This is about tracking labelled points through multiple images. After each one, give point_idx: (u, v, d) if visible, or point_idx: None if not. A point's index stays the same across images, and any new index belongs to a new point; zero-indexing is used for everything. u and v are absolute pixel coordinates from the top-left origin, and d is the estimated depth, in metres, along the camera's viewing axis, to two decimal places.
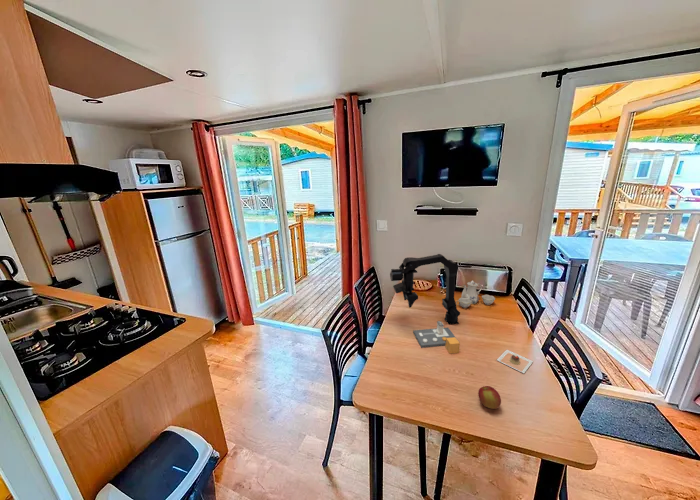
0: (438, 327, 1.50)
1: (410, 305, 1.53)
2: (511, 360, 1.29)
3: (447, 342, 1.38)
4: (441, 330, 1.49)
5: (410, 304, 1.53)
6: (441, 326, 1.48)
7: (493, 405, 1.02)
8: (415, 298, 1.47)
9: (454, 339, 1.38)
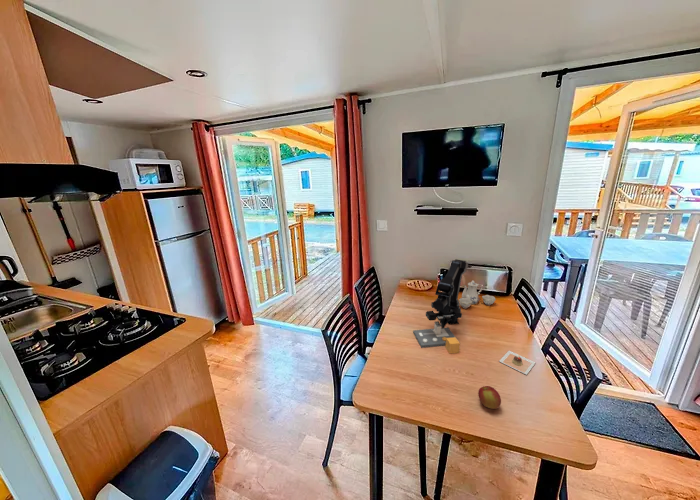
0: (435, 327, 1.50)
1: (441, 325, 1.50)
2: (513, 361, 1.28)
3: (447, 342, 1.38)
4: (438, 330, 1.49)
5: (441, 324, 1.50)
6: (438, 326, 1.48)
7: (493, 405, 1.02)
8: (428, 317, 1.46)
9: (454, 339, 1.38)
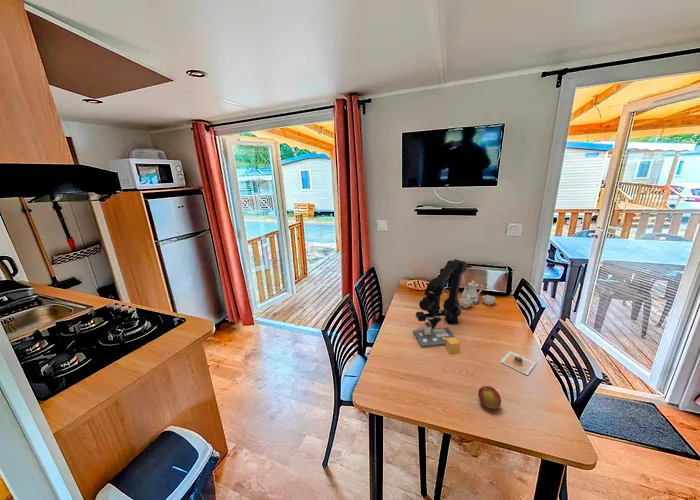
0: (426, 328, 1.50)
1: (431, 326, 1.50)
2: (514, 362, 1.28)
3: (447, 342, 1.38)
4: (428, 331, 1.48)
5: (431, 324, 1.50)
6: (428, 327, 1.48)
7: (493, 405, 1.02)
8: (418, 318, 1.46)
9: (454, 339, 1.38)
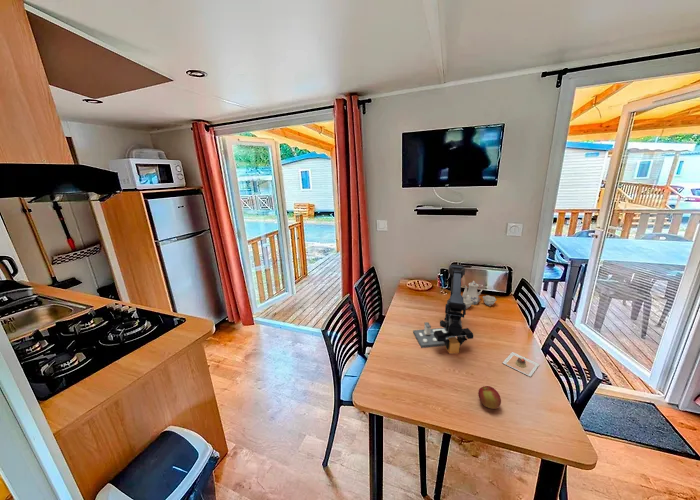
0: (425, 328, 1.50)
1: (446, 346, 1.38)
2: (517, 363, 1.27)
3: None
4: (428, 331, 1.48)
5: None
6: (428, 327, 1.48)
7: (493, 405, 1.02)
8: (436, 338, 1.35)
9: (454, 339, 1.38)
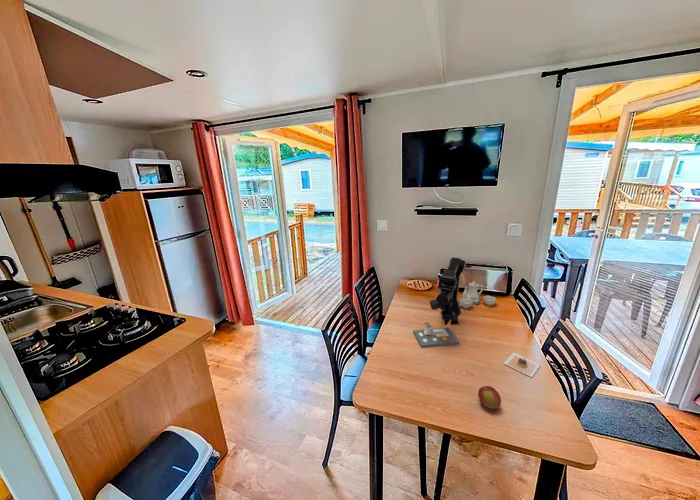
0: (425, 328, 1.50)
1: (446, 322, 1.42)
2: (518, 363, 1.27)
3: None
4: (428, 331, 1.48)
5: (446, 321, 1.42)
6: (428, 327, 1.48)
7: (493, 405, 1.02)
8: (451, 318, 1.34)
9: None
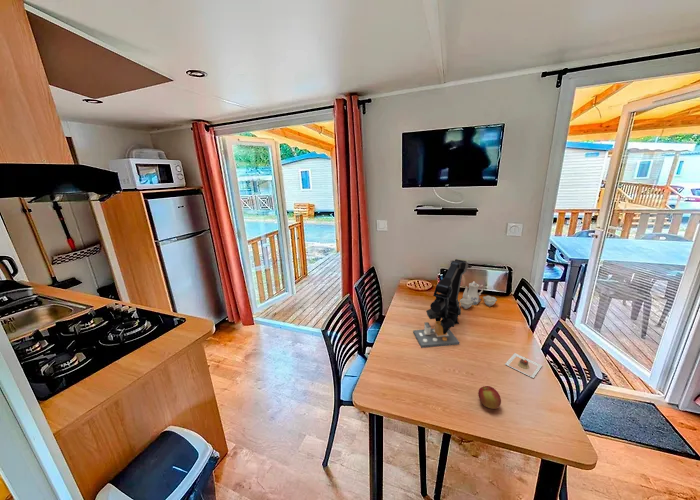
0: (425, 328, 1.50)
1: (445, 332, 1.46)
2: (520, 364, 1.26)
3: (442, 327, 1.48)
4: (428, 331, 1.48)
5: (445, 331, 1.45)
6: (428, 327, 1.48)
7: (493, 405, 1.02)
8: (451, 325, 1.40)
9: (439, 322, 1.51)
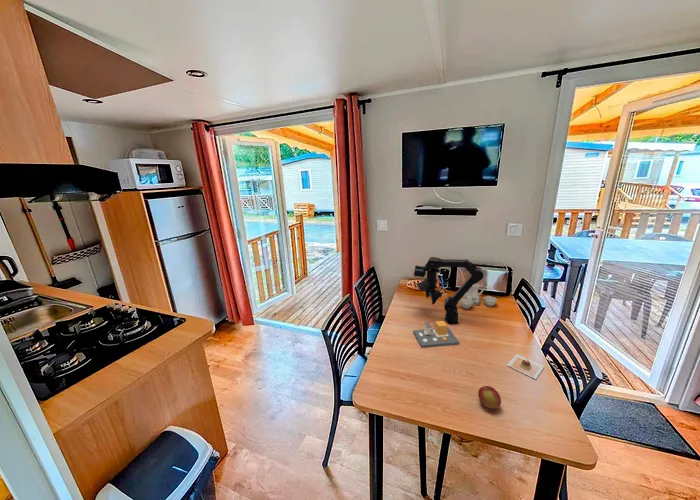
0: (425, 328, 1.50)
1: (433, 302, 1.61)
2: (522, 365, 1.26)
3: (442, 327, 1.48)
4: (428, 331, 1.48)
5: (433, 301, 1.60)
6: (428, 327, 1.48)
7: (493, 405, 1.02)
8: (439, 295, 1.55)
9: (439, 322, 1.51)
